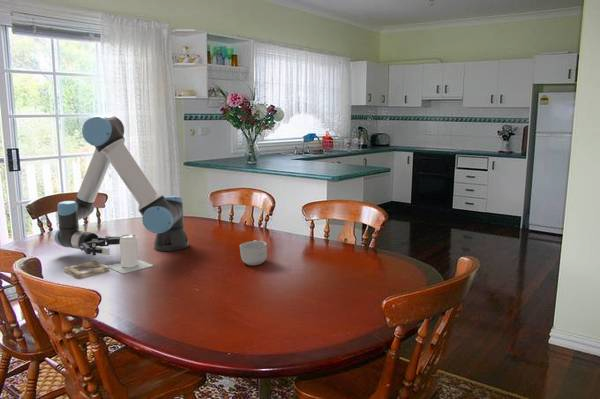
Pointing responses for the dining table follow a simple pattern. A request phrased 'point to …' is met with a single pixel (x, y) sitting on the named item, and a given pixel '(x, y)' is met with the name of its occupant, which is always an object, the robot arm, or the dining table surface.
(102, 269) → the holder
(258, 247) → the teacup
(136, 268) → the mat
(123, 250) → the can
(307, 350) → the dining table surface
